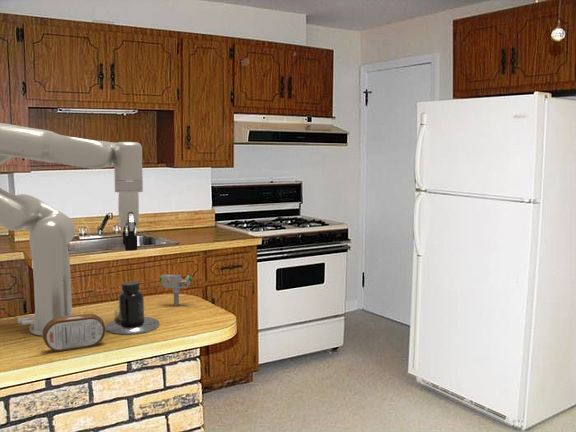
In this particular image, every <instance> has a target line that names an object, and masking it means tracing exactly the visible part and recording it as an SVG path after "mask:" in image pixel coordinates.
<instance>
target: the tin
mask: <svg viewBox="0 0 576 432" xmlns="http://www.w3.org/2000/svg"><path fill="white" fill-rule="evenodd" d="M105 325H106V324H105V322H104V320H103V318H102V317H100V316H99V315H98V314H94V313H84V314H75V315H72V316H64V317H57V318H54V319H52V320H51V321H49V322H48V323H47V324H46V325H45V327H44V329H43V336H42V339H43V342H44V343H45V345H46V346H47V347H48V348H49V349H50V350H52V351H55V352H63V351H65V352H66V351H71V350H78V349H84V348H85V349H86V348H91V347H95V346H96V345H98V344H100V343H101V342H102V340H103V339H104V337H105V335H106V330H105Z"/></svg>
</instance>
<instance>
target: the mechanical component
mask: <svg viewBox="0 0 576 432" xmlns="http://www.w3.org/2000/svg"><path fill="white" fill-rule="evenodd" d="M186 275H187V274H186ZM158 279H159V281H160V282H161V286H162V287H164V288H166V289H168V288H169V289H172V291H171V293H173V307H179V305H180V301H179V300H180V299H179V297H180V296H179V294H180V292H181V289H186V288H188V287H189V286H190V285H191V282H192V281H193V276H191V275H187V276H186V277H185V279H183V277H182V276H181V274H176V273H175V274H162V275H159V278H158ZM168 280H170V281H168ZM182 283H185V284H182Z"/></svg>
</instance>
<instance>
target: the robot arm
mask: <svg viewBox="0 0 576 432" xmlns="http://www.w3.org/2000/svg"><path fill="white" fill-rule="evenodd" d="M12 158H18V159H25V160H32V161H37V162H44V163H48V164H49V163H50V164H51V163H52V164H60V165H66V166H72V167H78V168H85V169H91V170H100V169H104V168H110V167H111V168H113V167H114V192H115V193H118V203H117V206H118V227H119V228H120V229H123V230H122V244H123V246H124V251H127V252H128V251H129V252H130V251H131V252H132V251H138V235H137V228H138V226H139V217H140V216H139V213H140V212H139V210H140V209H139V208H140V207H139V205H140V203H139V202H140V201H139V200H140V199H139V197H140V196H139V194H140V193H143V191H144V190H143V189H144V184H143V182H144V181H143V146H142V145H141V143H139V142H137V141H135V142H134V141H118V142H111V141H105V140H94V139H87V138H82V137H81V138H80V137H76V136H69V135H68V136H67V135H63V134H59V133H56V132H55V131H51V130H47V129H41V128H33V127H27V126H21V125H15V124H10V123H4V122H0V165H3V164H4V163H6V162H7V161H9V160H10V159H12ZM0 226H1V227H3V228H5V229H6V230H8V231H12V232H13V231H14V232H18V231H21V230H25V231H27V232H29V238H28V239H29V248H30V253H31V254H30V255H31V262H32V274H33V275H32V277H33V291H34V295H33V296H34V314H32V315H30V316H21V317H17V323H18V325H21V326H30V327H29V332H30V333H31V334H32V335H35V336H42V337H43V329H44V327H45V325H46V324H47V323H48V322H49V321H51V320H52V319H54V318H57V317H64V316H73V307H72V285H71V284H72V282H71V281H72V280H71V263H70V262H71V261H70V256H69V248H68V247H69V246H68V244H69V243H70V242H71V241H72V240H73V239H74V237H75V235H76V225H75V223H74V221H73V220H72V219H71V218H70V217H69V216H68V215H66V214H65V213H63V212H61V211H60V210H57V208H55V207H53V206H51V205H49V204H48V203H46V202H44V201H42V200H40V199H38V198H37V197H34V196H33V195H29V194H26V193H25V194H24V193H23V194H22V193H21V194H12V193H11V192H9V191H6V190H5V189H3V188H1V187H0Z"/></svg>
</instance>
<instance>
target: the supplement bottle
mask: <svg viewBox="0 0 576 432" xmlns="http://www.w3.org/2000/svg"><path fill="white" fill-rule="evenodd" d="M121 291H122V292H121V293H119V294H118V309H119V314H120V325H121V326H123V327H137V326H140V325H142V324H143V323H144V317H145V304H144V302H145V301H144V294H143V292H141V291H140V283H139V281H125V282H122V284H121Z"/></svg>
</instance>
